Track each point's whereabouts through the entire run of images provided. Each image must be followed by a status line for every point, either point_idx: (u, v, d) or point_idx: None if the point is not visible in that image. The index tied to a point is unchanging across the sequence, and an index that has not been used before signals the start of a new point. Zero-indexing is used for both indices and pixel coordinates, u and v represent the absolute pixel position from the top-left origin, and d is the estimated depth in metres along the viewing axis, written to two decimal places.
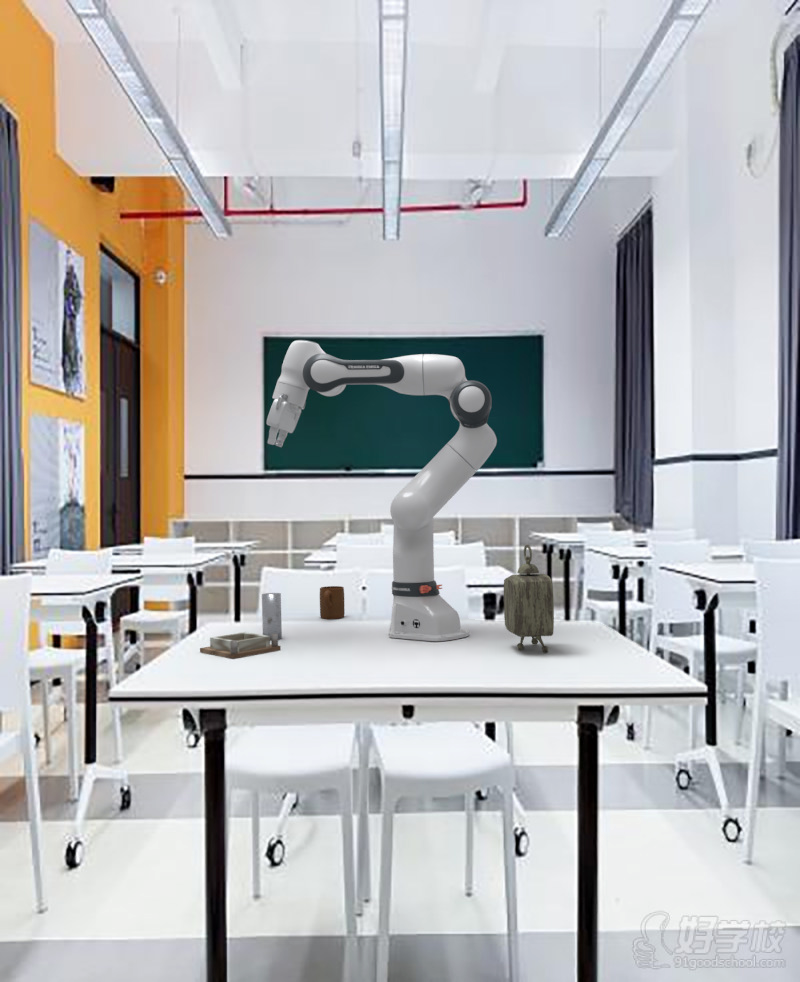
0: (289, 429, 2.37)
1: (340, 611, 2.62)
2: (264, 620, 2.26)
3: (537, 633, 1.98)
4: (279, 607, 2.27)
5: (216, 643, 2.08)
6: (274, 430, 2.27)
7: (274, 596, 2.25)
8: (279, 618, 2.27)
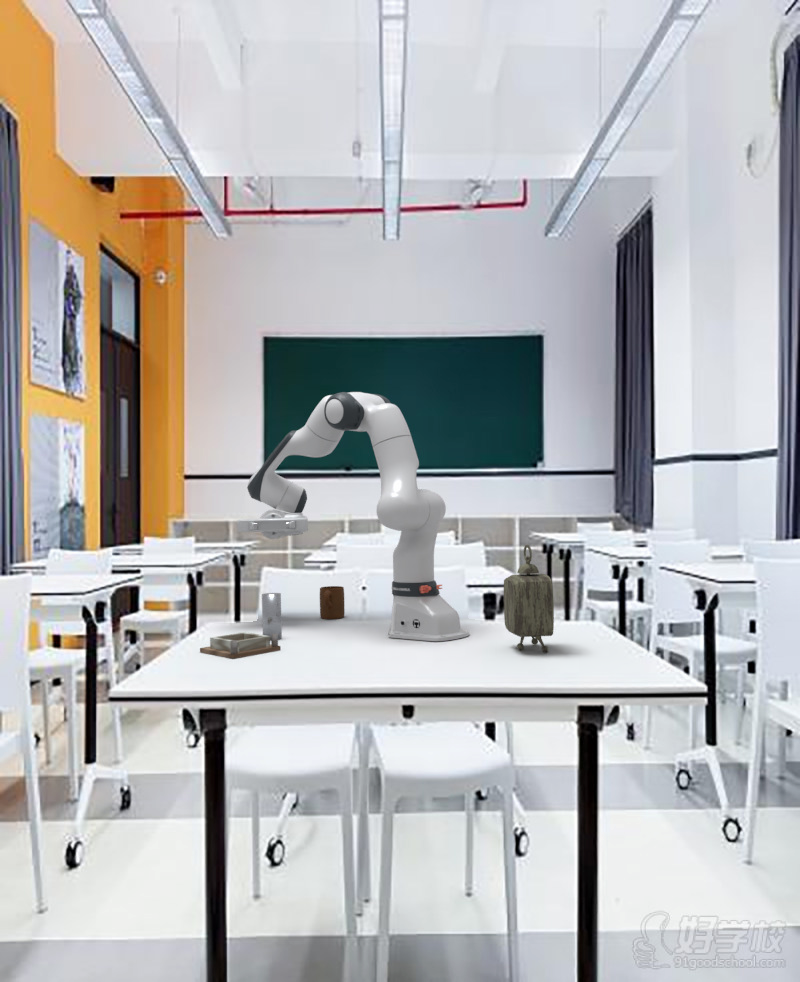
0: (285, 518, 2.46)
1: (340, 611, 2.62)
2: (264, 620, 2.26)
3: (536, 633, 1.98)
4: (279, 607, 2.27)
5: (216, 643, 2.08)
6: (249, 524, 2.43)
7: (274, 596, 2.25)
8: (279, 618, 2.27)
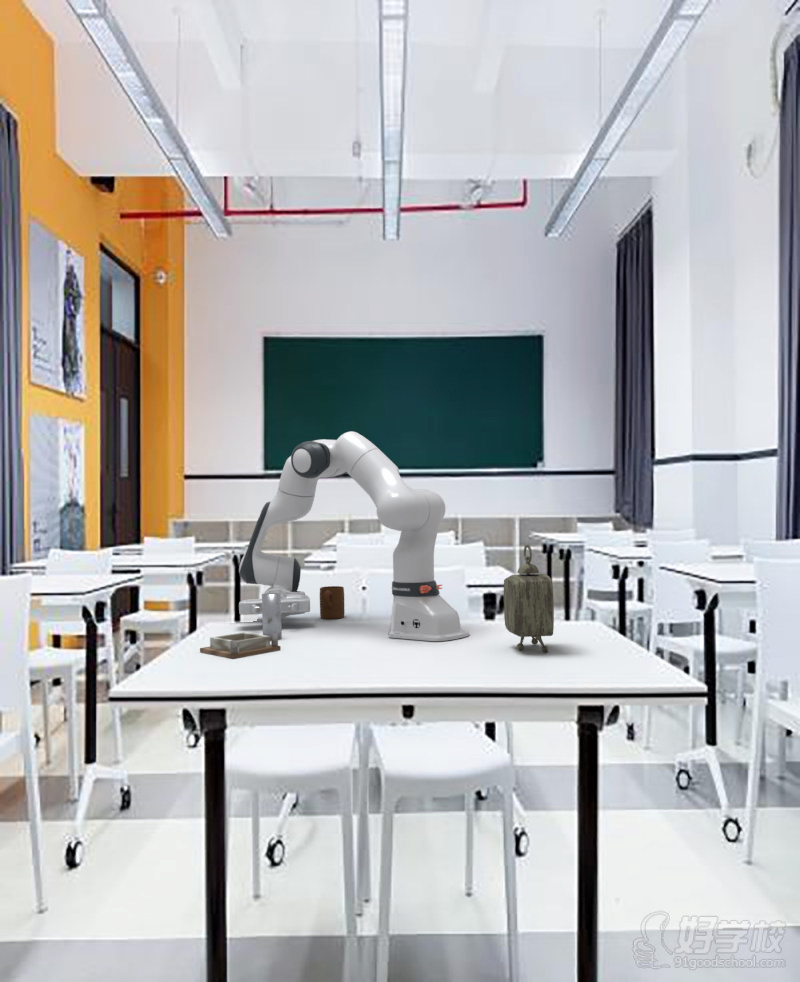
0: (287, 600, 2.44)
1: (340, 611, 2.62)
2: (264, 620, 2.26)
3: (537, 633, 1.98)
4: (279, 607, 2.27)
5: (216, 643, 2.08)
6: (251, 607, 2.42)
7: (274, 596, 2.25)
8: (279, 618, 2.27)
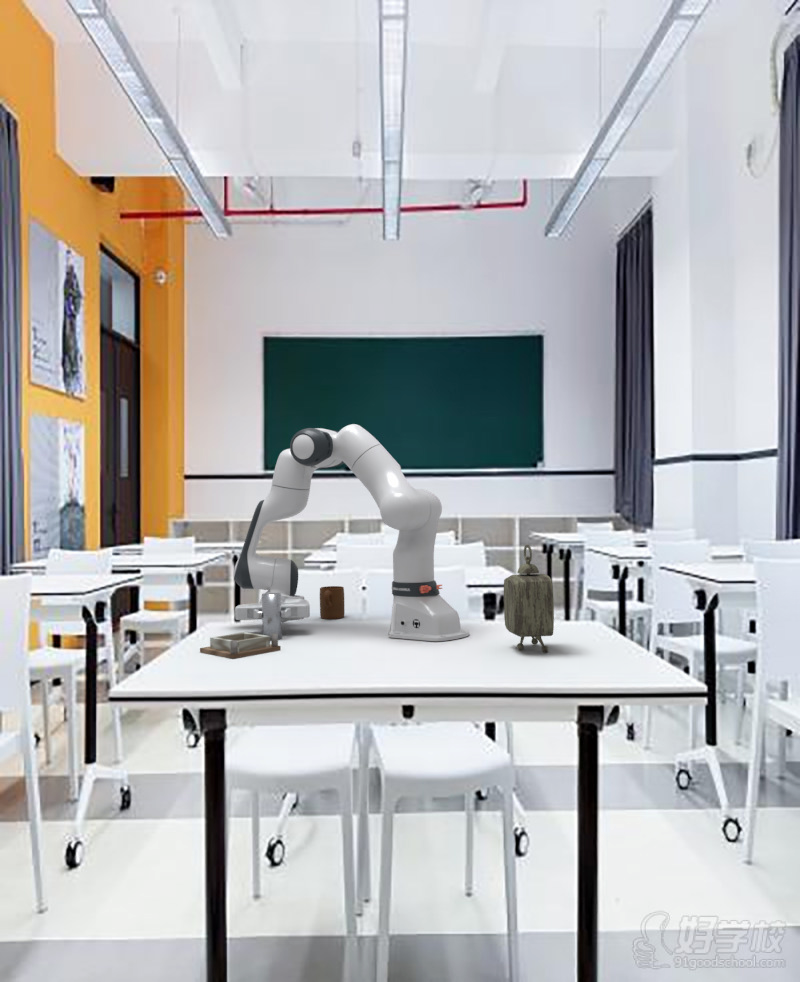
0: (286, 604, 2.33)
1: (340, 611, 2.62)
2: (264, 620, 2.26)
3: (537, 633, 1.98)
4: (279, 607, 2.27)
5: (216, 643, 2.08)
6: (253, 612, 2.30)
7: (274, 596, 2.25)
8: (279, 618, 2.27)
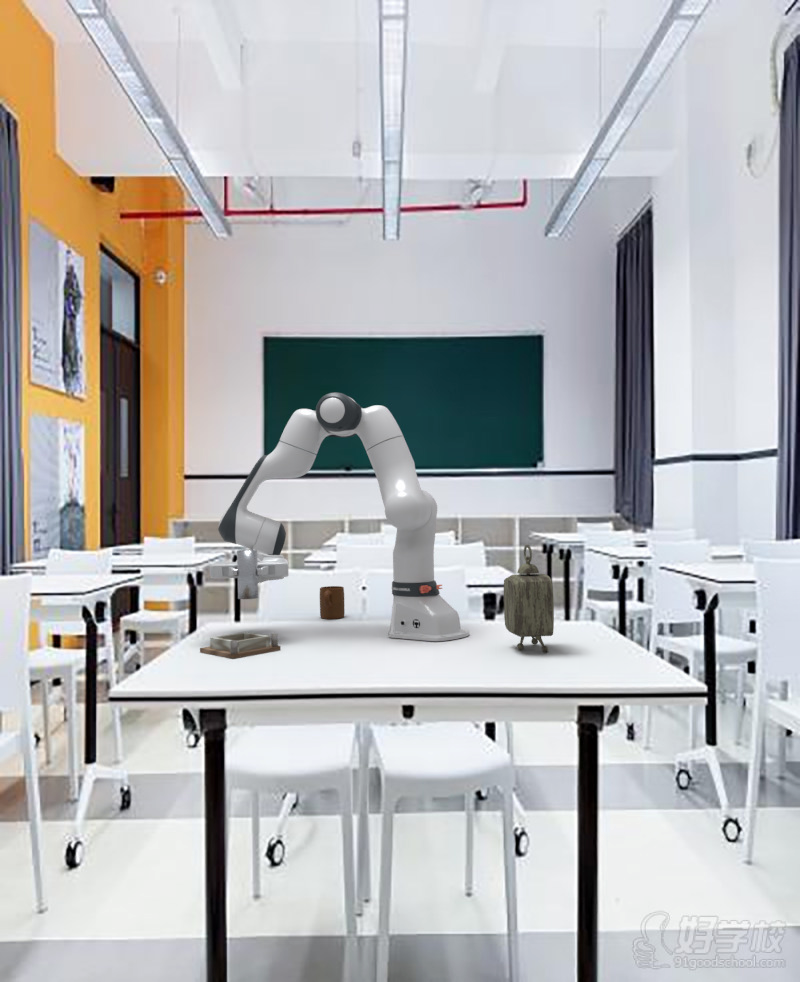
0: (263, 562, 2.21)
1: (340, 611, 2.62)
2: (239, 578, 2.14)
3: (537, 633, 1.98)
4: (255, 564, 2.15)
5: (216, 643, 2.08)
6: (228, 570, 2.19)
7: (250, 552, 2.14)
8: (255, 576, 2.15)
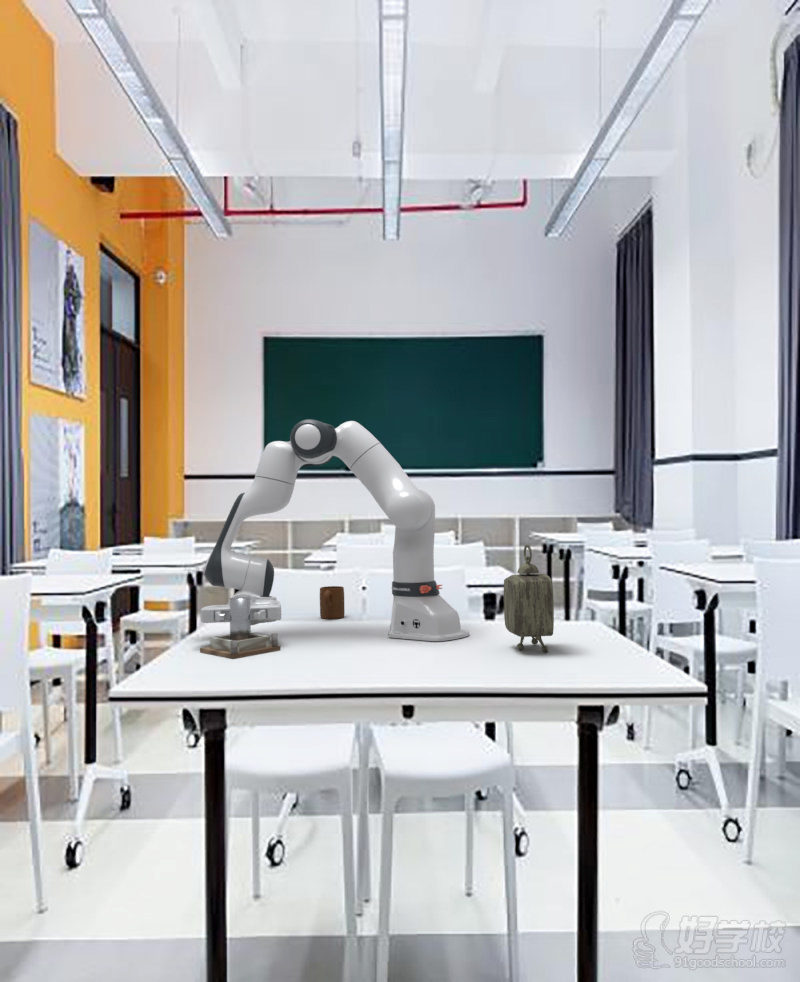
0: (255, 606, 2.16)
1: (340, 611, 2.62)
2: (232, 626, 2.09)
3: (536, 633, 1.98)
4: (248, 613, 2.10)
5: (216, 643, 2.08)
6: (215, 614, 2.13)
7: (243, 601, 2.08)
8: (248, 624, 2.10)
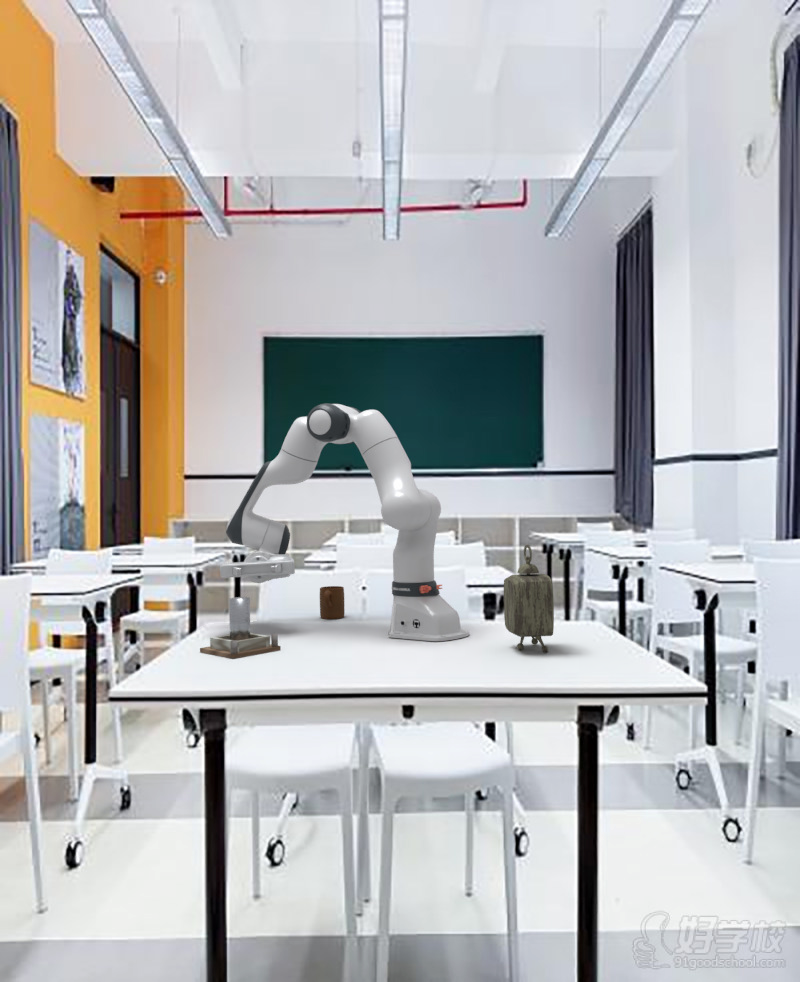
0: (270, 561, 2.33)
1: (340, 611, 2.62)
2: (231, 627, 2.09)
3: (537, 633, 1.98)
4: (248, 613, 2.10)
5: (216, 643, 2.08)
6: (232, 569, 2.31)
7: (242, 601, 2.08)
8: (248, 624, 2.10)
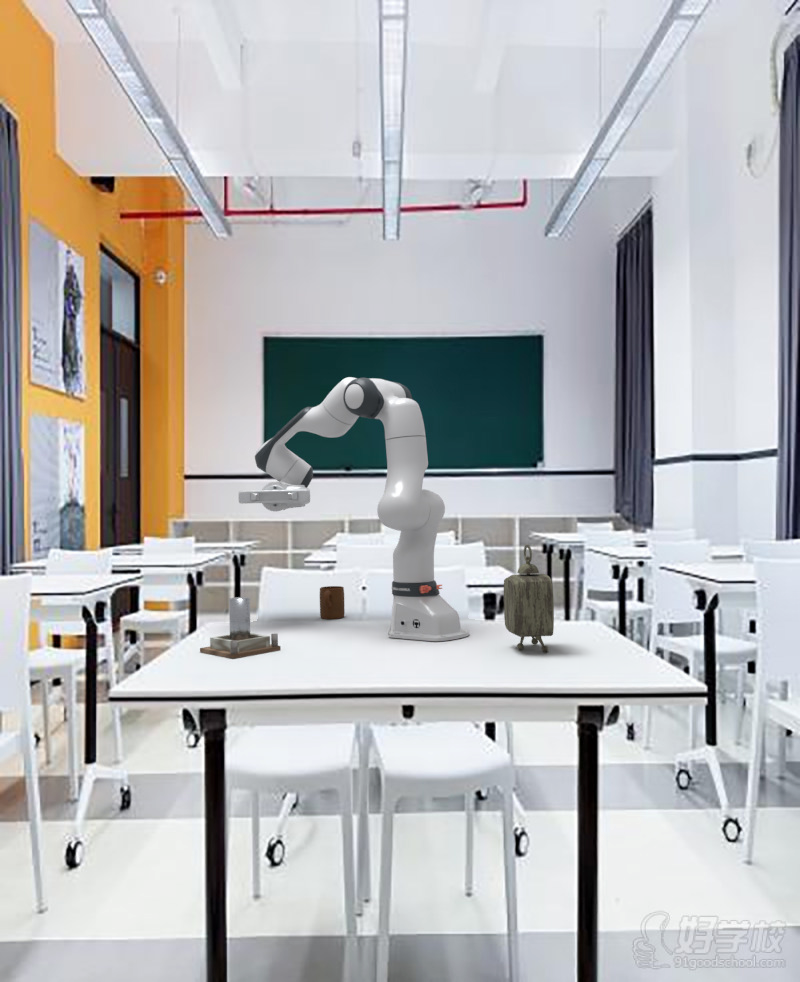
0: (287, 489, 2.43)
1: (340, 611, 2.62)
2: (231, 627, 2.09)
3: (537, 633, 1.98)
4: (248, 613, 2.10)
5: (216, 643, 2.08)
6: (250, 495, 2.40)
7: (242, 601, 2.08)
8: (248, 624, 2.10)
